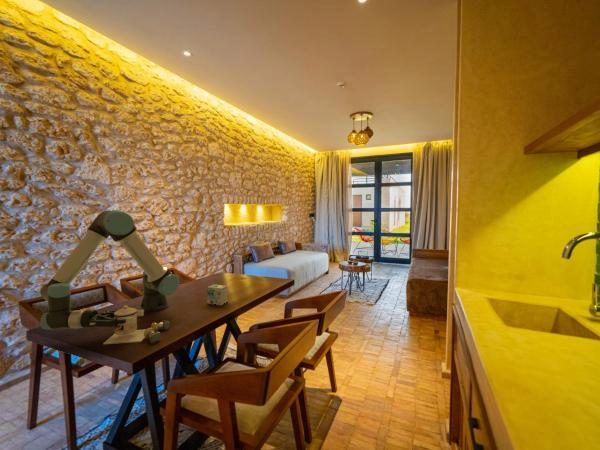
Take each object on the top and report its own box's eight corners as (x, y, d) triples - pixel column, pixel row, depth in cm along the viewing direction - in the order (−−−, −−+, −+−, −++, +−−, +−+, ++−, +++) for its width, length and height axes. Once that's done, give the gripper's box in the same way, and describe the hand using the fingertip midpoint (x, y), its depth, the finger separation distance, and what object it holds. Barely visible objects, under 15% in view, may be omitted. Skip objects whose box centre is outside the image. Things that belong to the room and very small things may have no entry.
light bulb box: (206, 303, 174) (206, 286, 173) (213, 300, 180) (213, 284, 180) (221, 305, 170) (221, 288, 170) (227, 302, 177) (227, 285, 176)
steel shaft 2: (165, 326, 138) (164, 317, 138) (169, 329, 135) (169, 319, 135) (151, 331, 132) (151, 321, 132) (155, 333, 130) (155, 324, 130)
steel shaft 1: (161, 340, 123) (161, 329, 123) (151, 343, 120) (151, 333, 119) (153, 336, 127) (153, 326, 127) (143, 339, 123) (143, 329, 123)
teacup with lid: (109, 332, 125) (109, 307, 124) (129, 325, 133) (129, 301, 132) (125, 338, 119) (125, 311, 119) (145, 330, 127) (145, 305, 127)
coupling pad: (118, 331, 132) (118, 330, 132) (152, 329, 134) (151, 328, 134) (103, 344, 119) (103, 343, 119) (141, 341, 121) (140, 340, 121)
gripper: (98, 318, 134) (148, 316, 138) (68, 337, 113) (128, 334, 116) (98, 302, 134) (148, 301, 138) (67, 319, 113) (128, 316, 116)
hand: (139, 316), depth 127 cm, fingers closed on teacup with lid, 9 cm apart
